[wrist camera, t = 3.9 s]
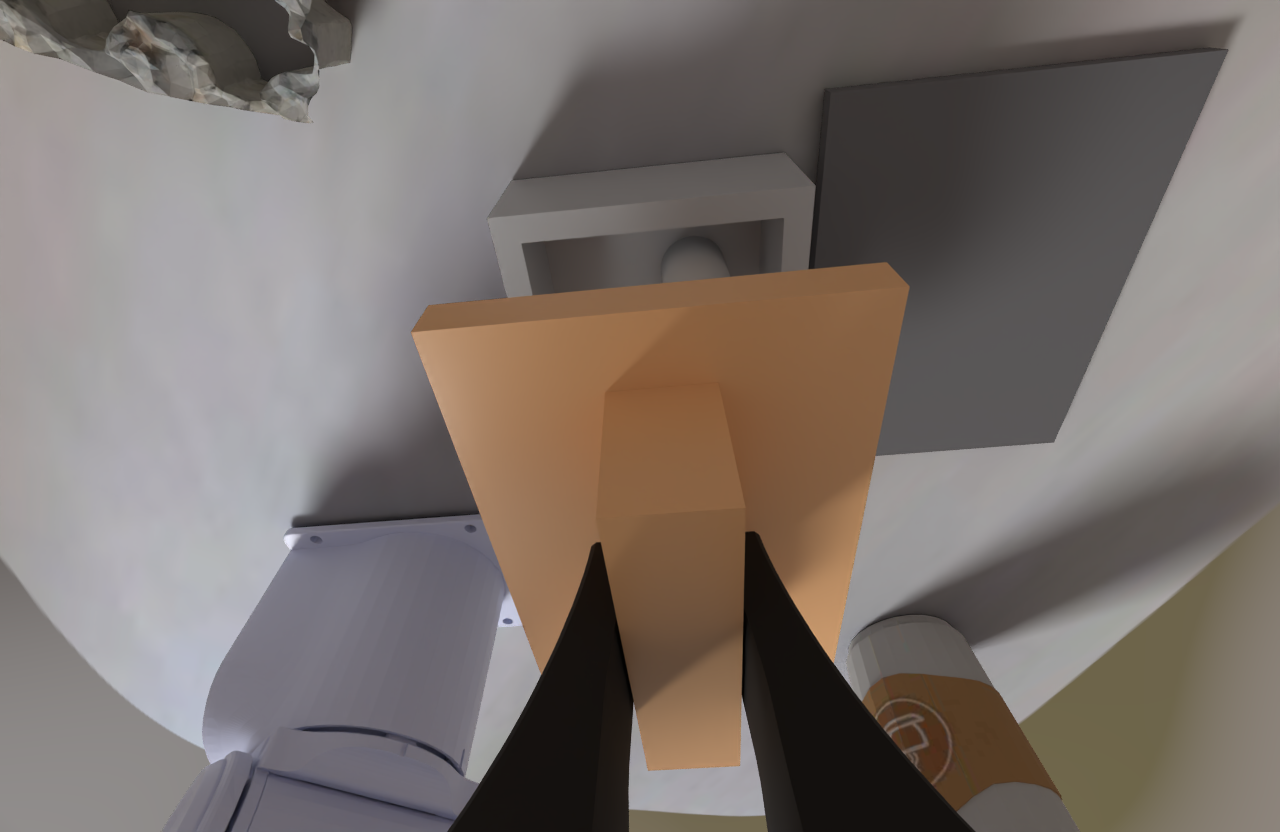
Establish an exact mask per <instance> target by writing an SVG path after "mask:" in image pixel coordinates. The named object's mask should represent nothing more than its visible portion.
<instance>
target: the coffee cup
mask: <svg viewBox="0 0 1280 832" xmlns="http://www.w3.org/2000/svg"><path fill="white" fill-rule="evenodd" d="M848 653H849V655H848V657H847V659H846V664H847V671H848V675H849V679H850V683H851V687H852V690H853V691H854V692H855V693H856V695H857V696H858V697H859V699H860V700H861V701H862V703H863V704H864V705H865V706H866V708H867V709H868V710H869V711H870V713H871V714H872V715H873V717H874V718H875V719H876V720H877V722H878V723H879V724H880V725H881V727H882V728H883V729H884V730H885V731H886V733H887V734H888V735H889V736H890V737H891V739H892V740H893V741H894V742H895V743H896V745H897V746H898V747H899V748H900V749H901V751H902V752H903V753H904V754H905V755H906V756H907V758H908V759H909V760H910V761H911V762H912V763H913V764H914V765H915V766H916V768H917V769H918V770H919V771H920V772H921V773H922V774H923V775H924V776H925V778H926V779H927V780H928V781H929V782H930V783H931V784H932V785H933V786H934V787H935V789H936V790H937V791H938V792H939V793H940V794H941V795H942V796H943V797H944V799H945V800H946V801H947V802H948V803H949V804H950V805H951V806H952V807H953V808H954V810H955V811H956V812H957V813H958V814H959V815H960V816H961V817H962V818H963V819H964V820H965V821H966V822H967V823H968V824H969V825H970V826H971V827H972V828H973V829H974V830H975V831H976V832H1080V831H1079V829H1078V827H1077V826H1076V824H1075V822H1074V821H1073V819H1072V818H1071V815H1070V814H1069V812H1068V810H1067V809H1066V807H1065V805H1064V804H1063V802H1062V798H1061V795H1060V793H1059V792H1058V790H1057V788H1056V787H1055V785H1054V783H1053V782H1052V780H1051V778H1050V777H1049V775H1048V773H1047V772H1046V770H1045V768H1044V767H1043V765H1042V763H1041V762H1040V760H1039V758H1038V757H1037V755H1036V753H1035V752H1034V750H1033V748H1032V747H1031V745H1030V743H1029V742H1028V740H1027V739H1026V737H1025V735H1024V733H1023V732H1022V730H1021V728H1020V727H1019V725H1018V723H1017V722H1016V720H1015V718H1014V717H1013V715H1012V713H1011V712H1010V710H1009V708H1008V707H1007V705H1006V703H1005V702H1004V700H1003V698H1002V697H1001V695H1000V693H999V692H998V691H997V690H995V688H994V686H993V685H992V683H991V681H990V680H989V678H988V676H987V675H986V673H985V671H984V670H983V668H982V666H981V665H980V663H979V661H978V660H977V658H976V656H975V655H974V653H973V651H972V650H971V648H970V646H969V645H968V643H967V641H966V640H965V638H964V636H963V635H962V634H961V633H960V632H959V631H957V630H956V629H954V628H953V627H952V626H950V625H949V624H948V623H947V622H946V621H944V620H942V619H939V618H937V617H933V616H927V615H905V616H898V617H893V618H890V619H886V620H883V621H880V622H878V623H875V624H873V625H871V626H869V627H867V628H866V629H864V630H863V631H861V632H860V633H859V634H858V635H857V636H856V637H855V638H854V639H853V640H852V641H851V644H850V646H849V648H848Z"/></svg>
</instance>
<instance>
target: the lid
mask: <svg viewBox="0 0 1280 832" xmlns="http://www.w3.org/2000/svg"><path fill="white" fill-rule="evenodd" d="M909 287H910V286H909V285H908V284H907V283H906V282H905V281H904V280H903V279H902V278H901V277H900V276H899V275H898V274H897V273H896V271H895V270H894V269H893V268H892V267H891V266H890V265H889V264H888V263H887V262H883V263H872V264H861V265H851V266H840V267H829V268H819V269H808V270H798V271H787V272H776V273H766V274H755V275H744V276H734V277H723V278H713V279H702V280H691V281H681V282H670V283H660V284H649V285H638V286H628V287H617V288H606V289H596V290H585V291H575V292H564V293H553V294H543V295H532V296H521V297H511V298H500V299H490V300H479V301H468V302H458V303H447V304H436V305H428V307H427V308H426V310H425V311H424V313H423V314H422V316H421V317H420V319H419V321H418V322H417V324H416V325H415V327H414V328H413V330H412V331H411V334H412V337H413V339H414V342H415V345H416V347H417V350H418V353H419V355H420V358H421V360H422V363H423V366H424V368H425V371H426V374H427V376H428V379H429V381H430V384H431V387H432V389H433V392H434V394H435V397H436V400H437V402H438V405H439V408H440V410H441V413H442V415H443V418H444V421H445V423H446V426H447V429H448V431H449V434H450V436H451V439H452V442H453V444H454V447H455V450H456V452H457V455H458V457H459V460H460V463H461V465H462V468H463V471H464V473H465V476H466V478H467V481H468V484H469V486H470V489H471V491H472V494H473V497H474V499H475V502H476V505H477V507H478V510H479V512H480V515H481V518H482V520H483V523H484V526H485V528H486V531H487V533H488V536H489V539H490V541H491V544H492V547H493V549H494V552H495V554H496V557H497V560H498V562H499V565H500V567H501V570H502V573H503V575H504V578H505V581H506V583H507V586H508V588H509V591H510V594H511V596H512V599H513V602H514V604H515V607H516V609H517V612H518V615H519V617H520V620H521V623H522V625H523V628H524V630H525V633H526V636H527V638H528V641H529V644H530V646H531V649H532V651H533V654H534V657H535V659H536V662H537V664H538V667H539V670H540V672H541V675H542V672H543V670H544V668H545V666H546V664H547V662H548V660H549V658H550V656H551V654H552V652H553V650H554V647H555V645H556V643H557V641H558V638H559V636H560V634H561V631H562V629H563V626H564V624H565V622H566V619H567V617H568V614H569V612H570V610H571V607H572V605H573V602H574V599H575V597H576V594H577V591H578V588H579V586H580V583H581V580H582V577H583V574H584V571H585V567H586V564H587V561H588V557H589V553H590V549H591V546H592V545H593V544H595V543H596V542H601V545H602V550H603V555H604V560H605V565H606V569H607V574H608V579H609V584H610V589H611V594H612V598H613V603H614V608H615V613H616V618H617V623H618V627H619V632H620V637H621V642H622V647H623V652H624V656H625V661H626V666H627V671H628V676H629V681H630V686H631V690H632V695H633V700H634V705H635V710H636V715H637V719H638V724H639V729H640V734H641V739H642V744H643V748H644V753H645V758H646V763H647V768H648V771H651V770H670V769H690V768H710V767H729V766H740V743H741V698H742V654H743V609H744V565H745V532H749V531H755V532H756V533H758V534H759V535H760V537H761V540H762V542H763V545H764V547H765V549H766V551H767V554H768V556H769V558H770V560H771V562H772V564H773V566H774V568H775V570H776V572H777V573H778V575H779V577H780V579H781V581H782V583H783V584H784V586H785V588H786V590H787V592H788V593H789V595H790V597H791V598H792V600H793V602H794V604H795V605H796V607H797V608H798V610H799V612H800V613H801V615H802V616H803V618H804V620H805V621H806V623H807V624H808V626H809V628H810V629H811V631H812V632H813V634H814V635H815V637H816V638H817V640H818V641H819V643H820V644H821V646H822V647H823V649H824V650H825V652H826V653H827V655H828V656H829V658H830V659H831V660H832V662H833V663H834V658H835V653H836V649H837V644H838V639H839V634H840V629H841V624H842V619H843V614H844V609H845V604H846V599H847V594H848V589H849V584H850V579H851V574H852V569H853V564H854V559H855V554H856V549H857V545H858V540H859V535H860V530H861V525H862V520H863V515H864V510H865V505H866V500H867V495H868V490H869V485H870V480H871V475H872V470H873V465H874V460H875V455H876V450H877V446H878V441H879V436H880V431H881V426H882V421H883V416H884V411H885V406H886V401H887V396H888V391H889V386H890V381H891V376H892V371H893V366H894V361H895V356H896V351H897V346H898V342H899V337H900V332H901V327H902V322H903V317H904V312H905V307H906V302H907V297H908V292H909Z"/></svg>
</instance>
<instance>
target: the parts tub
mask: <svg viewBox="0 0 1280 832" xmlns="http://www.w3.org/2000/svg"><path fill="white" fill-rule="evenodd" d="M815 187H816V185H815V184H814V183H813V182H812V181H811V180H810V179H809V178H808V177H807V176H806V175H805V174H804V173H803V172H802V171H801V169H800V168H799V167H798V166H797V165H796V164H795V163H794V162H793V161H792V160H791V159H790V158H789V157H788V156H787V155H786V154H785V152H784V153H774V154H764V155H755V156H745V157H735V158H725V159H716V160H706V161H696V162H687V163H677V164H667V165H657V166H648V167H638V168H628V169H619V170H609V171H599V172H589V173H580V174H570V175H560V176H551V177H541V178H531V179H521V180H512V181H511V182H510V184H509V185H508V187H507V188H506V190H505V191H504V193H503V194H502V196H501V197H500V199H499V201H498V202H497V204H496V205H495V207H494V208H493V210H492V211H491V213H490V214H489V216H488V217H487V221H488V225H489V229H490V233H491V236H492V240H493V244H494V248H495V252H496V256H497V260H498V264H499V268H500V272H501V276H502V280H503V284H504V288H505V291H506V295H507V298H511V297H521V296H532V295H543V294H553V293H564V292H575V291H585V290H596V289H606V288H617V287H628V286H638V285H649V284H660V283H670V282H681V281H691V280H702V279H713V278H723V277H734V276H744V275H755V274H766V273H776V272H787V271H798V270H808V267H809V255H810V244H811V232H812V221H813V210H814V198H815Z"/></svg>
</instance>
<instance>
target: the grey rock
mask: <svg viewBox="0 0 1280 832" xmlns="http://www.w3.org/2000/svg"><path fill="white" fill-rule="evenodd" d="M275 1H276V2H277V3H279V4H280V5H281V6H282V7H284V8H285V9H286V11H287V12H288V14H289V24H288V33H289V35H290V37H291V38H293V39H295V40H297V41H299V42H302V43H304V44H306V45H308V46H310V48H311V49H312V51H313V53H314V54H315V55H314V66H312V67H307V68H303V69H299V70H292V71H286V72H283V73H280V74H278V75H276V76H274V77H272V78H271V79H270V81H269V82H267V81H265V80H263V79H262V77H261V74H260V70H259V67H258V65H257V62H256V59H255V57H254V56H253V54H252V52H251V51H250V49H249V47H248V46H247V44H246V43H245V42H244V41H243V39H242V38H241V37H240V36H239V34H238V33H237V32H236V31H235V30H234V29H232V28H231V27H229V26H227V25H226V24H224V23H223V22H221V21H220V20H218V19H217V18H215V17H212V16H208V15H204V14H200V13H193V12H162V13H137V12H133V11H130V10H128V13H127V16H126V17H127V18H125V19H123V20H122V21H121V22H120V23H118V21H117V19H116V17H115V15H114V13H113V11H112V9H111V7H110V5H109V4H108V2H107V1H106V0H0V39H1V40H3V41H6V42H8V43H10V44H12V45H14V46H16V47H18V48H21V49H23V50H26V51H29V52H31V53H34V54H39V55H44V56H49V57H54V58H59V59H62V60H64V61H67V62H69V63H72V64H75V65H77V66H80V67H83V68H85V69H88V70H90V71H93V72H96V73H99V74H102V75H105V76H108V77H111V78H114V79H117V80H120V81H122V82H124V83H127V84H129V85H131V86H134V87H136V88H138V89H141V90H143V91H146V92H148V93H153V94H159V95H164V96H170V97H174V98H179V99H184V100H189V101H194V102H200V103H205V104H211V105H219V106H226V107H232V108H236V109H241V110H247V111H253V112H260V113H268V114H275V115H280V116H282V117H283V118H284V119H287V120H291V121H296V122H302V123H313V121H312V120H311V119H310V118H309V116H308V105H309V102H310V100H311V98H312V97H313V96H314V95H315V94H316V93H317V91H318V89H319V69H322V68H326V67H332V66H338V65H341V64H346V63H350V58H351V35H352V26H351V23H350V21H349V19H347V18H346V17H344V16H343V15H341V14H340V13H338V12H337V11H335V10H334V9H333V8H332V7H331V6H330V5H329V4H327V3H326V2H325V1H324V0H275Z"/></svg>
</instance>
